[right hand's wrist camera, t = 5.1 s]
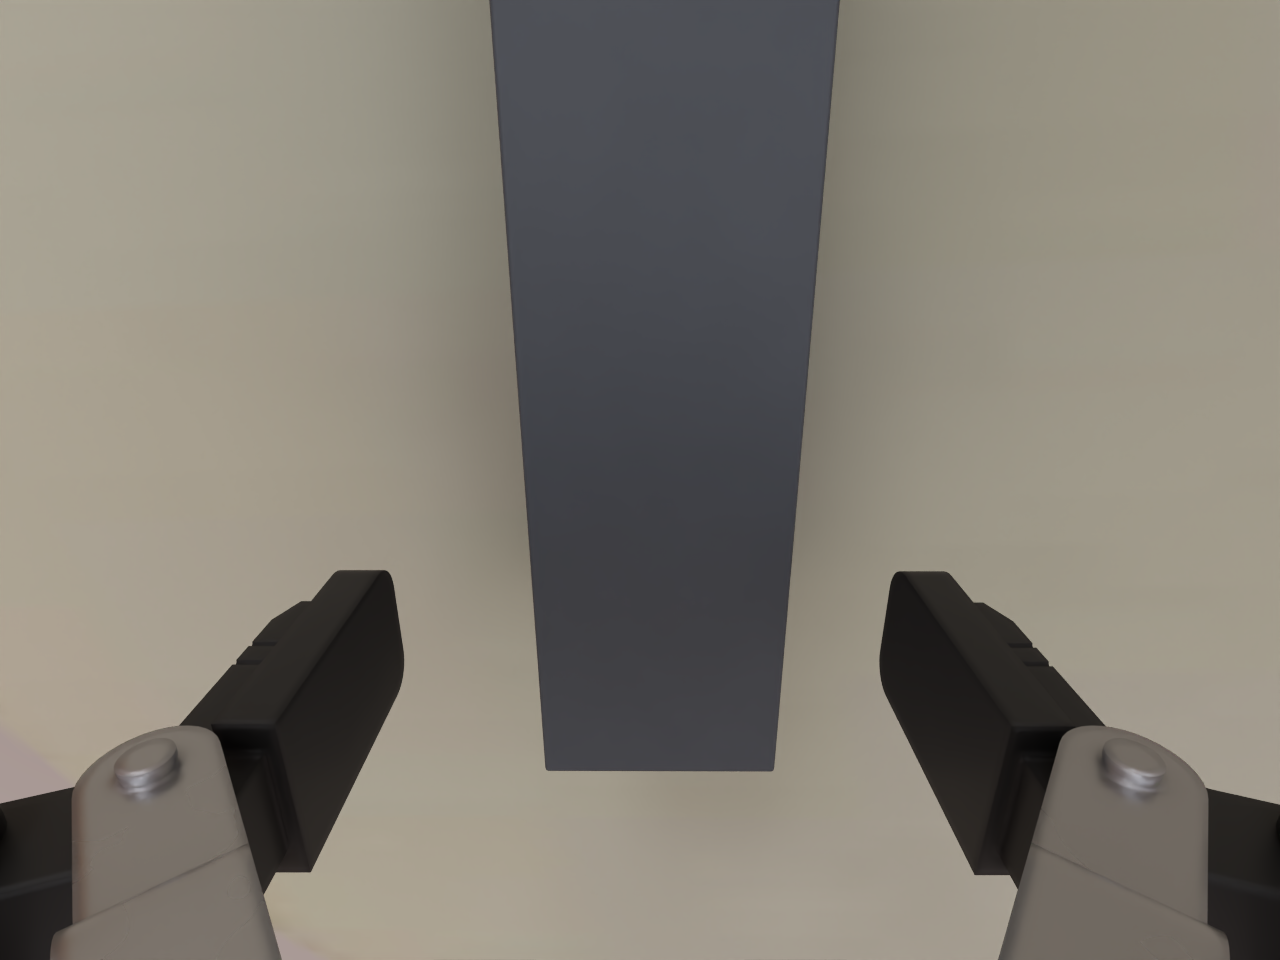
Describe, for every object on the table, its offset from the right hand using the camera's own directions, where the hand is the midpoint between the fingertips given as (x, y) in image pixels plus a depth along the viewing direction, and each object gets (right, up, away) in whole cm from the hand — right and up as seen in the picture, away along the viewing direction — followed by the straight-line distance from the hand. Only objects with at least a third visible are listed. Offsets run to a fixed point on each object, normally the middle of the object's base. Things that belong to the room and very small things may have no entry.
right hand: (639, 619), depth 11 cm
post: (0, +33, -5) cm, 33 cm away
